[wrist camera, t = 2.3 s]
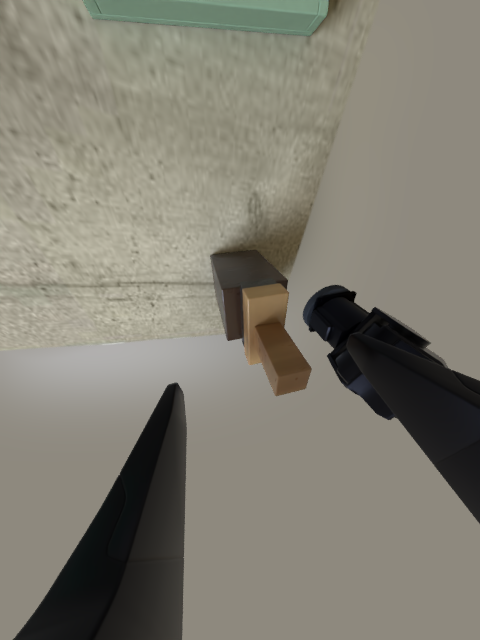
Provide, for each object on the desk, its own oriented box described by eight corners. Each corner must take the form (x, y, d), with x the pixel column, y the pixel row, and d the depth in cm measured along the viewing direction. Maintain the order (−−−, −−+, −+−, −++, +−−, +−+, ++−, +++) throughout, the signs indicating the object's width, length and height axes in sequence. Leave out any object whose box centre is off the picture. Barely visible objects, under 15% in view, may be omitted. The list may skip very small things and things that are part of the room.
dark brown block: (256, 249, 20) (288, 279, 13) (255, 290, 23) (281, 331, 16) (210, 254, 19) (221, 289, 13) (216, 296, 22) (227, 341, 16)
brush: (237, 280, 13) (273, 347, 7) (273, 275, 13) (330, 335, 8) (241, 342, 16) (266, 417, 11) (268, 337, 17) (306, 406, 11)
